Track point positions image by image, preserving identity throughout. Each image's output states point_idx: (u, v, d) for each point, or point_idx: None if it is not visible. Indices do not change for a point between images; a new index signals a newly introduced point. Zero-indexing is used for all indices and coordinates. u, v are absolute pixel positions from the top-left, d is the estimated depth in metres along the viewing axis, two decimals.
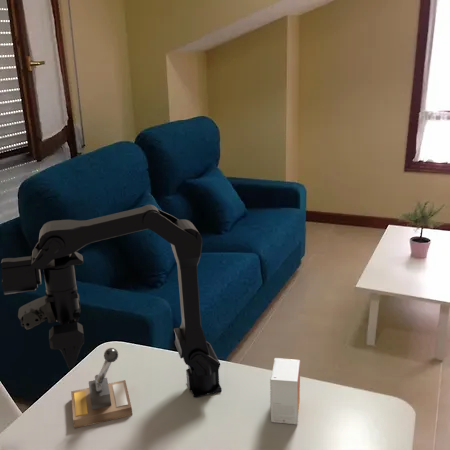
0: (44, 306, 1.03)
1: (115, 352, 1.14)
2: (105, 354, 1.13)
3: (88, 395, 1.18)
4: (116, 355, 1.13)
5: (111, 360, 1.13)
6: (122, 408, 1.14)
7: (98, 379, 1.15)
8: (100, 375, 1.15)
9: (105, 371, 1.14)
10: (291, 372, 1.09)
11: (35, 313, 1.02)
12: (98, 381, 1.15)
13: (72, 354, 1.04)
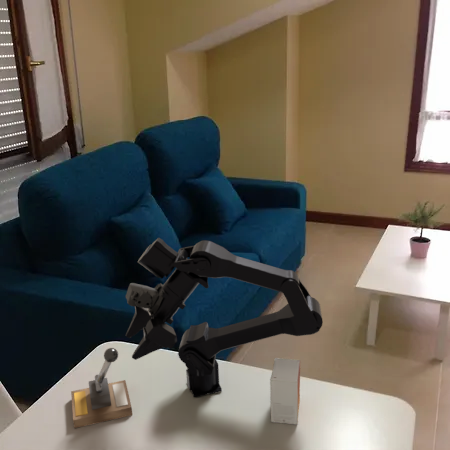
0: (156, 297, 1.11)
1: (115, 352, 1.14)
2: (105, 354, 1.13)
3: (88, 395, 1.18)
4: (116, 355, 1.13)
5: (111, 360, 1.13)
6: (122, 408, 1.14)
7: (98, 379, 1.15)
8: (100, 375, 1.15)
9: (105, 371, 1.14)
10: (291, 372, 1.09)
11: (150, 298, 1.09)
12: (98, 381, 1.15)
13: (146, 349, 1.10)
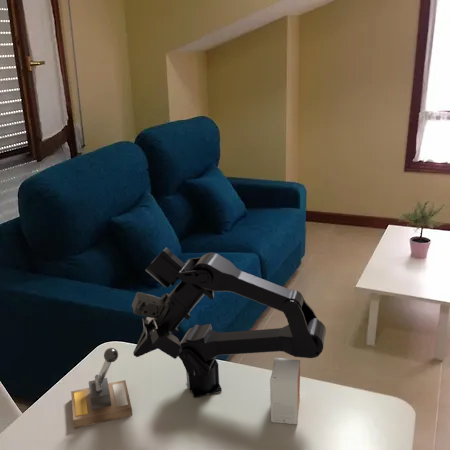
0: (162, 307, 1.12)
1: (115, 352, 1.14)
2: (105, 354, 1.13)
3: (88, 395, 1.18)
4: (116, 355, 1.13)
5: (111, 360, 1.13)
6: (122, 408, 1.14)
7: (98, 379, 1.15)
8: (100, 375, 1.15)
9: (105, 371, 1.14)
10: (291, 372, 1.09)
11: (156, 308, 1.10)
12: (98, 381, 1.15)
13: (148, 347, 1.15)
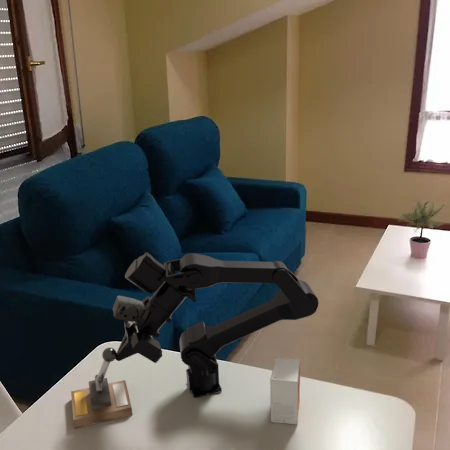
0: (143, 310, 1.11)
1: (113, 352, 1.13)
2: (103, 354, 1.13)
3: (88, 395, 1.18)
4: (114, 354, 1.13)
5: (109, 360, 1.13)
6: (122, 408, 1.14)
7: (98, 379, 1.15)
8: (99, 375, 1.14)
9: (104, 371, 1.14)
10: (291, 372, 1.09)
11: (136, 312, 1.09)
12: (98, 381, 1.15)
13: (129, 351, 1.14)
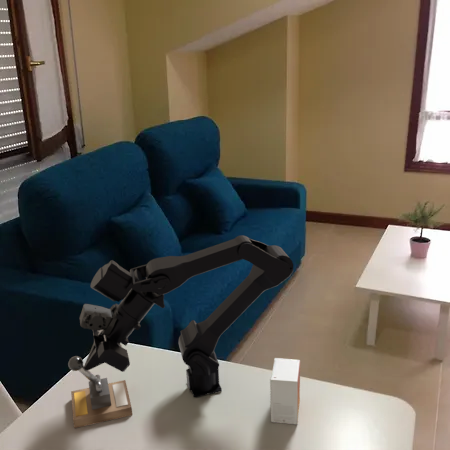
0: (110, 319, 1.09)
1: (73, 360, 1.11)
2: (70, 368, 1.12)
3: (88, 395, 1.18)
4: (76, 361, 1.11)
5: (77, 368, 1.11)
6: (122, 408, 1.14)
7: (92, 382, 1.15)
8: None
9: (88, 375, 1.13)
10: (291, 372, 1.09)
11: (103, 320, 1.07)
12: (94, 383, 1.15)
13: (98, 360, 1.12)
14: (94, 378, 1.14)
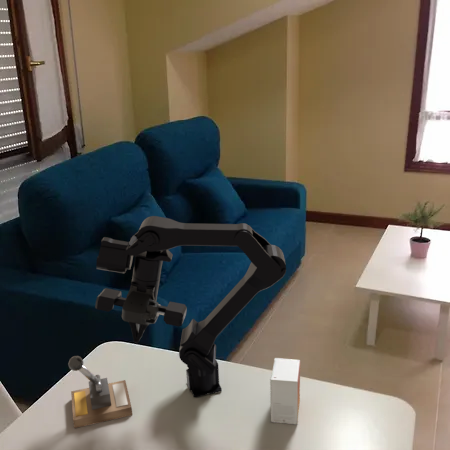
0: (150, 297, 1.11)
1: (73, 360, 1.11)
2: (70, 368, 1.12)
3: (88, 395, 1.18)
4: (76, 361, 1.11)
5: (78, 368, 1.11)
6: (122, 408, 1.14)
7: (92, 382, 1.15)
8: None
9: (88, 375, 1.13)
10: (291, 372, 1.09)
11: None
12: (94, 383, 1.15)
13: None
14: (94, 378, 1.14)
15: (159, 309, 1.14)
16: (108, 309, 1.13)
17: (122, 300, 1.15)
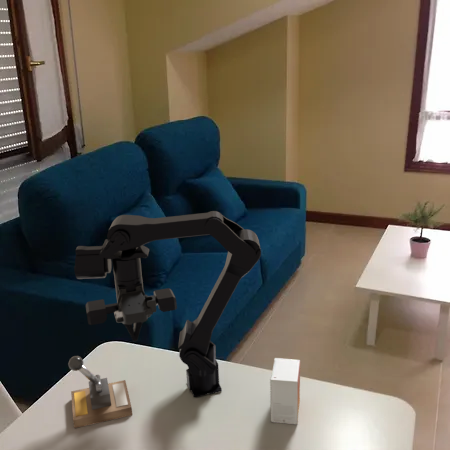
0: (141, 293, 1.11)
1: (73, 360, 1.11)
2: (70, 368, 1.12)
3: (88, 395, 1.18)
4: (76, 361, 1.11)
5: (78, 368, 1.11)
6: (122, 408, 1.14)
7: (92, 382, 1.15)
8: None
9: (88, 375, 1.13)
10: (291, 372, 1.09)
11: None
12: (94, 383, 1.15)
13: None
14: (94, 378, 1.14)
15: None
16: (103, 320, 1.11)
17: (111, 307, 1.13)
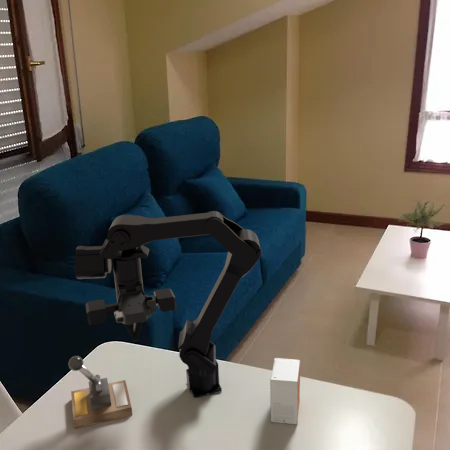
0: (141, 293, 1.11)
1: (73, 360, 1.11)
2: (70, 368, 1.12)
3: (88, 395, 1.18)
4: (76, 361, 1.11)
5: (78, 368, 1.11)
6: (122, 408, 1.14)
7: (92, 382, 1.15)
8: None
9: (88, 375, 1.13)
10: (291, 372, 1.09)
11: None
12: (94, 383, 1.15)
13: None
14: (94, 378, 1.14)
15: None
16: (103, 320, 1.11)
17: (111, 307, 1.13)
